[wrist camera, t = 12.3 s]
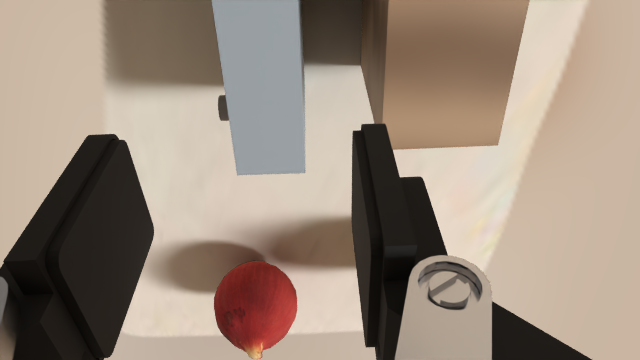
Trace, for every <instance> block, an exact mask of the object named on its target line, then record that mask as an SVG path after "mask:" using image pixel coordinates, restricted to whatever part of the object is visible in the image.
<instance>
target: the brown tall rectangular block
mask: <svg viewBox="0 0 640 360" xmlns="http://www.w3.org/2000/svg"><path fill="white" fill-rule="evenodd" d="M528 5H529V0H362V41H361V68H362V72H363V76H364V81H365V85H366V89H367V93H368V97H369V102H370V106H371V110H372V114H373V118H374V123H375V124H382V123H385V124H386V127H387V131H388V134H389V138H390V142H391V146H392V150H395V149H419V148H444V147H468V146H493V145H498V142H499V138H500V133H501V129H502V124H503V120H504V115H505V110H506V106H507V101H508V97H509V92H510V87H511V83H512V78H513V74H514V69H515V65H516V60H517V55H518V51H519V46H520V42H521V37H522V33H523V28H524V23H525V19H526V14H527V10H528Z"/></svg>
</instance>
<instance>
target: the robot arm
mask: <svg viewBox="0 0 640 360" xmlns="http://www.w3.org/2000/svg"><path fill="white" fill-rule="evenodd" d="M352 233H353V242H354V250H355V259H356V268H357V277H358V286H359V294H360V303H361V312H362V321H363V330H364V338H365V345H366V347H375V351H376V359H377V360H592V359H590V358H588V357H587V356H585V355H583V354H581V353H580V352H578V351H576V350H575V349H573V348H571V347H569V346H568V345H566V344H564V343H562V342H561V341H559V340H557V339H556V338H554V337H552V336H551V335H549V334H547V333H545V332H544V331H542V330H540V329H539V328H537V327H535V326H533V325H532V324H530V323H528V322H526V321H525V320H523V319H522V318H520V317H518V316H516V315H515V314H513V313H511V312H510V311H508V310H506V309H504V308H503V307H501V306H499V305H497V304H496V303H494V302H492V291H491V285H490V282H489V280H488V279H487V277H486V275H485V274H484V273H483V272H482V271H481V270H480V269H479V268H478V267H477V266H476V265H474V264H472V263H470V262H468V261H467V260H465V259H462V258H458V257H455V256H448V255H447V251H446V248H445V245H444V242H443V239H442V236H441V233H440V230H439V227H438V224H437V220H436V217H435V214H434V211H433V208H432V205H431V202H430V199H429V196H428V193H427V189H426V186H425V183H424V181H423V178H422V177H399V173H398V169H397V165H396V161H395V157H394V154H393V150H392V146H391V142H390V138H389V134H388V131H387V127H386V124H385V123H382V124H362V126H361V130H360V131H353V144H352ZM153 236H154V227H153V223H152V220H151V217H150V213H149V210H148V207H147V204H146V201H145V198H144V195H143V192H142V189H141V186H140V182H139V179H138V176H137V173H136V170H135V167H134V164H133V161H132V158H131V155H130V151H129V148H128V145H127V143H126V142H125V141H124V140H119V138H118V137H117V136H116V135H115V134H103V135H88V136H87V137H86V139H85V140H84V142H83V143H82V145H81V146H80V148H79V149H78V151H77V152H76V154H75V155H74V157H73V158H72V160H71V161H70V163H69V164H68V166H67V167H66V168H65V170H64V172H63V173H62V175H61V176H60V177H59V179H58V180H57V182H56V183H55V185H54V187H53V188H52V190H51V191H50V192H49V194H48V195H47V197H46V198H45V200H44V201H43V203H42V204H41V206H40V207H39V209H38V210H37V212H36V213H35V215H34V216H33V218H32V219H31V221H30V222H29V224H28V225H27V227H26V228H25V230H24V231H23V233H22V234H21V236H20V237H19V239H18V240H17V242H16V243H15V245H14V246H13V248H12V249H11V251H10V252H9V254H8V255H7V257H6V258H5V259H4V261H3V262H4V264H3V265H2V267H1V268H0V360H104V358H108V357H110V356H111V355H112V353H113V351H114V348H115V345H116V342H117V339H118V337H119V334H120V331H121V328H122V325H123V322H124V320H125V317H126V314H127V311H128V308H129V306H130V303H131V300H132V297H133V294H134V291H135V289H136V286H137V283H138V280H139V277H140V274H141V272H142V269H143V266H144V263H145V260H146V258H147V255H148V252H149V249H150V246H151V243H152V241H153Z"/></svg>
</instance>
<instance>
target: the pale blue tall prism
mask: <svg viewBox="0 0 640 360" xmlns="http://www.w3.org/2000/svg"><path fill="white" fill-rule="evenodd" d="M212 7H213V14H214V20H215V27H216V34H217V41H218V47H219V54H220V61H221V68H222V75H223V81H224V88H225V95H221V96H219V99H218V110H219V117H220V120H221V121H229V122H230V129H231V136H232V143H233V149H234V156H235V163H236V170H237V175H258V174H289V173H305V77H304V53H303V28H302V4H301V0H212Z"/></svg>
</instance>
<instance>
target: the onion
mask: <svg viewBox="0 0 640 360" xmlns="http://www.w3.org/2000/svg"><path fill="white" fill-rule="evenodd" d="M214 310H215V316H216V321H217V325H218V328H219V329H220V331H221V333H222V334H223V335H224V336H225V337H226V338H227V339H228V340H229V341H230V342H231V343H232V344H233V345H234V346H236V347H238V348H239V349H242V350H244V351H245V352H247V354H248V355H249V357H251V358H252V359H260V358H262V350H265V349H268V348H271V347H272V346H273V345H275V344H276V343H277V342H279V341H280V340H281V339H282V338H284V336H285V335H286V334H287V333H288V331H289V329H290V327H291V325H292V323H293V322H294V320H295V317H296V313H297V296H296V290H295V288H294V286H293V284H292V283H291V281H290V279H289V278H288V277H287V275H286V274H285V273H284V272H282V271H281V270H280V269H279V268H277V267H276V266H273V265H270V264H268V263H266V262H262V261H252V262H247V263H244V264H241V265H239V266H238V267H236V268H234V269H233V270H231V271H230V272H229V273H228V274H227V275H226V276H225V277H224V278H223V280H222V281H221V283H220V285H219V286H218V288H217V291H216V294H215V297H214Z"/></svg>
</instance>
